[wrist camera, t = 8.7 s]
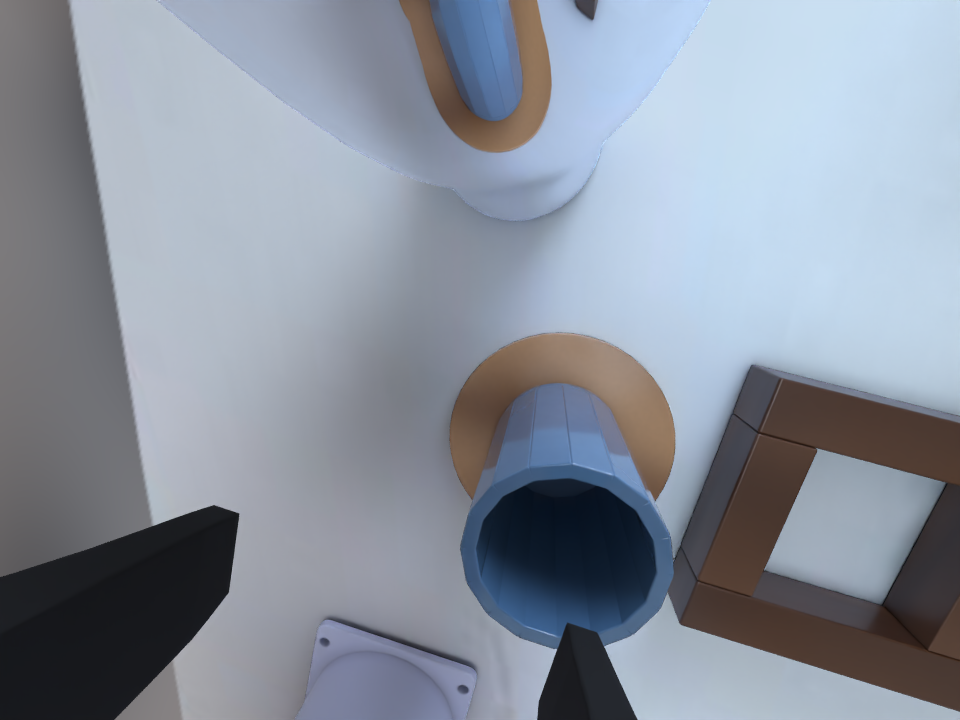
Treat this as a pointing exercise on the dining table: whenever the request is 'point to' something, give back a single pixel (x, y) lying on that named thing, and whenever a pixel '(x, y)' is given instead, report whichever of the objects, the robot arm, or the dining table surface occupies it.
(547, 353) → the coaster
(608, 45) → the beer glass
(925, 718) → the dining table surface
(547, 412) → the blue cup
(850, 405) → the cup holder
